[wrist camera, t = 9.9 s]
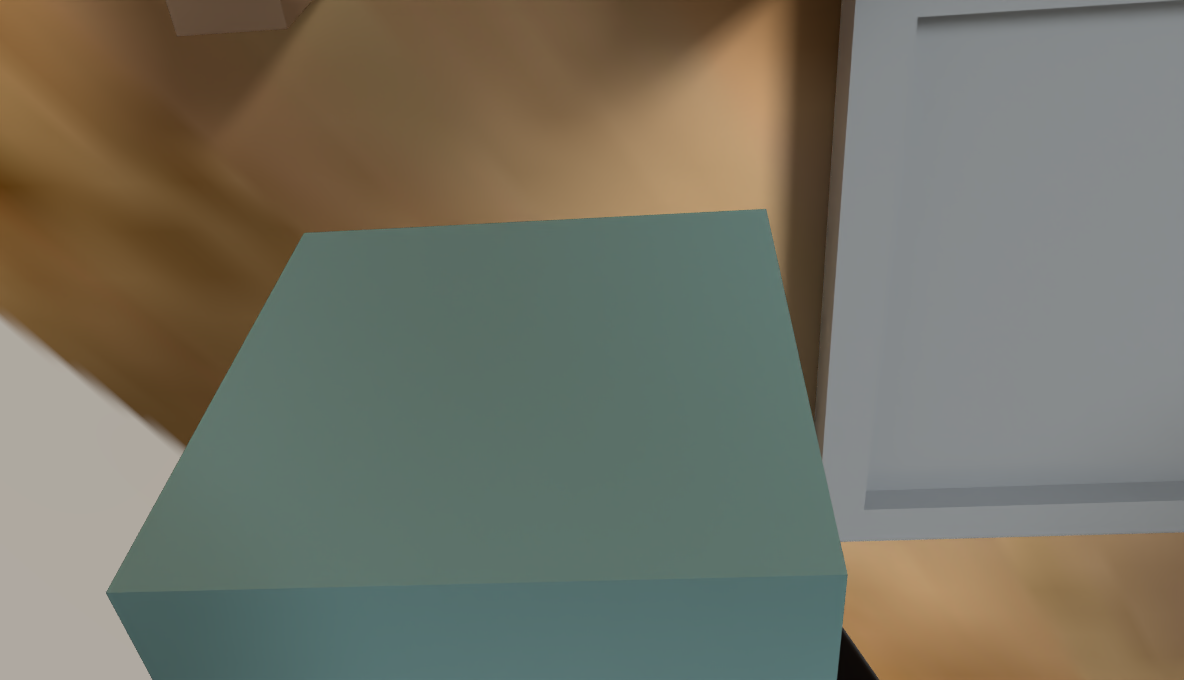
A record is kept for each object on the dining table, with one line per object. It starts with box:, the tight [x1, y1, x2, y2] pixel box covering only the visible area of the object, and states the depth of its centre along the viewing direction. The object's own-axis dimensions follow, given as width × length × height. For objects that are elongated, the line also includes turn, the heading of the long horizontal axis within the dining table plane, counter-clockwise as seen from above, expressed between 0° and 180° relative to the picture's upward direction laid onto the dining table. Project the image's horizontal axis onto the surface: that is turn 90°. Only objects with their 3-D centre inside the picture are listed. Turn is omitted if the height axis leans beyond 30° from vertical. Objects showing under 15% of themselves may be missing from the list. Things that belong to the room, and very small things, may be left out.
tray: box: [814, 0, 1184, 542], centre depth 19 cm, size 11×13×1 cm
